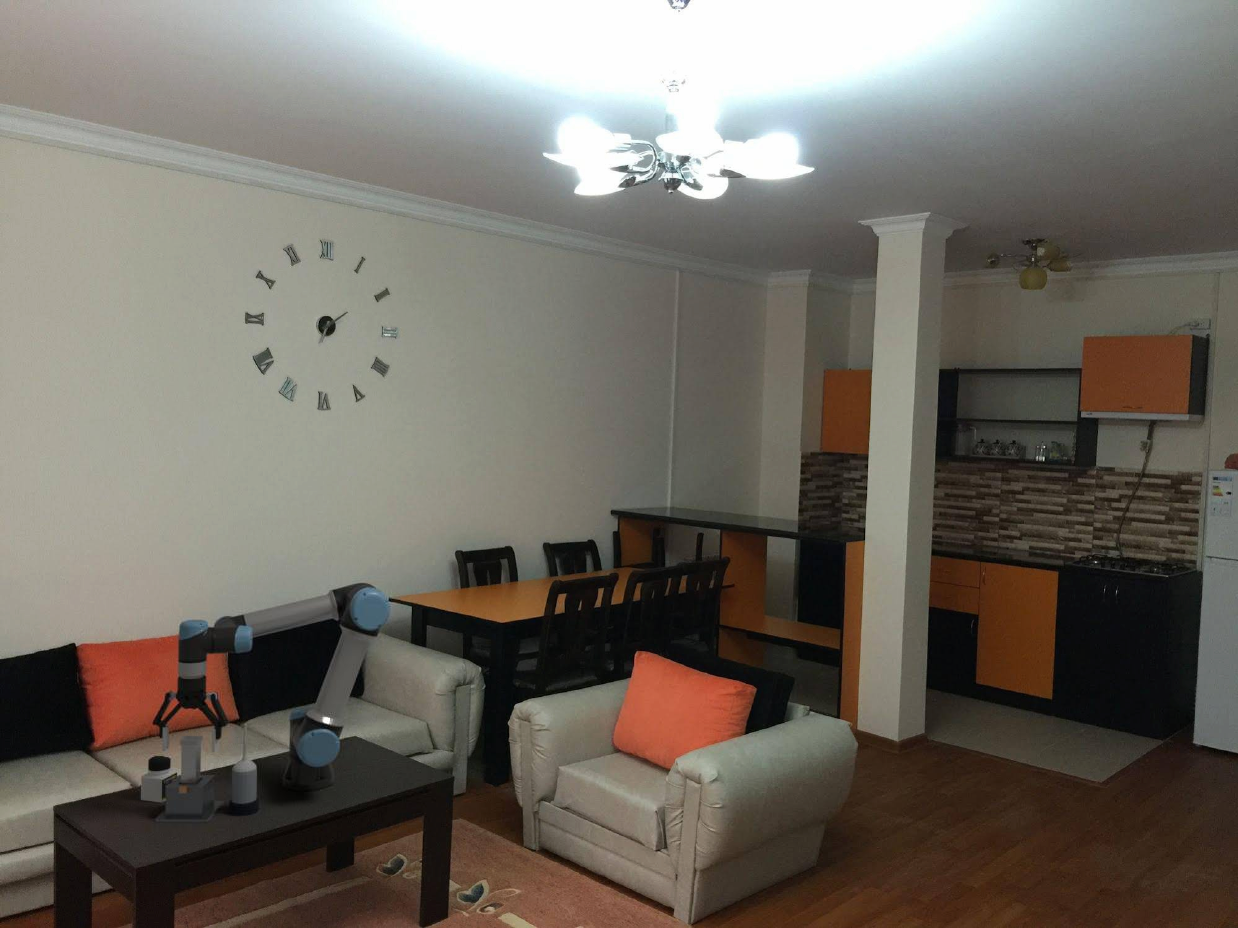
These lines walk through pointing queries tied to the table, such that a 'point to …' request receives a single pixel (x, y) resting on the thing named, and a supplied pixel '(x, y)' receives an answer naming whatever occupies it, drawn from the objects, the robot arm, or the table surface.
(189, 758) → the column
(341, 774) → the table surface
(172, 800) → the stand housing
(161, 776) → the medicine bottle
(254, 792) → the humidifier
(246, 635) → the robot arm
